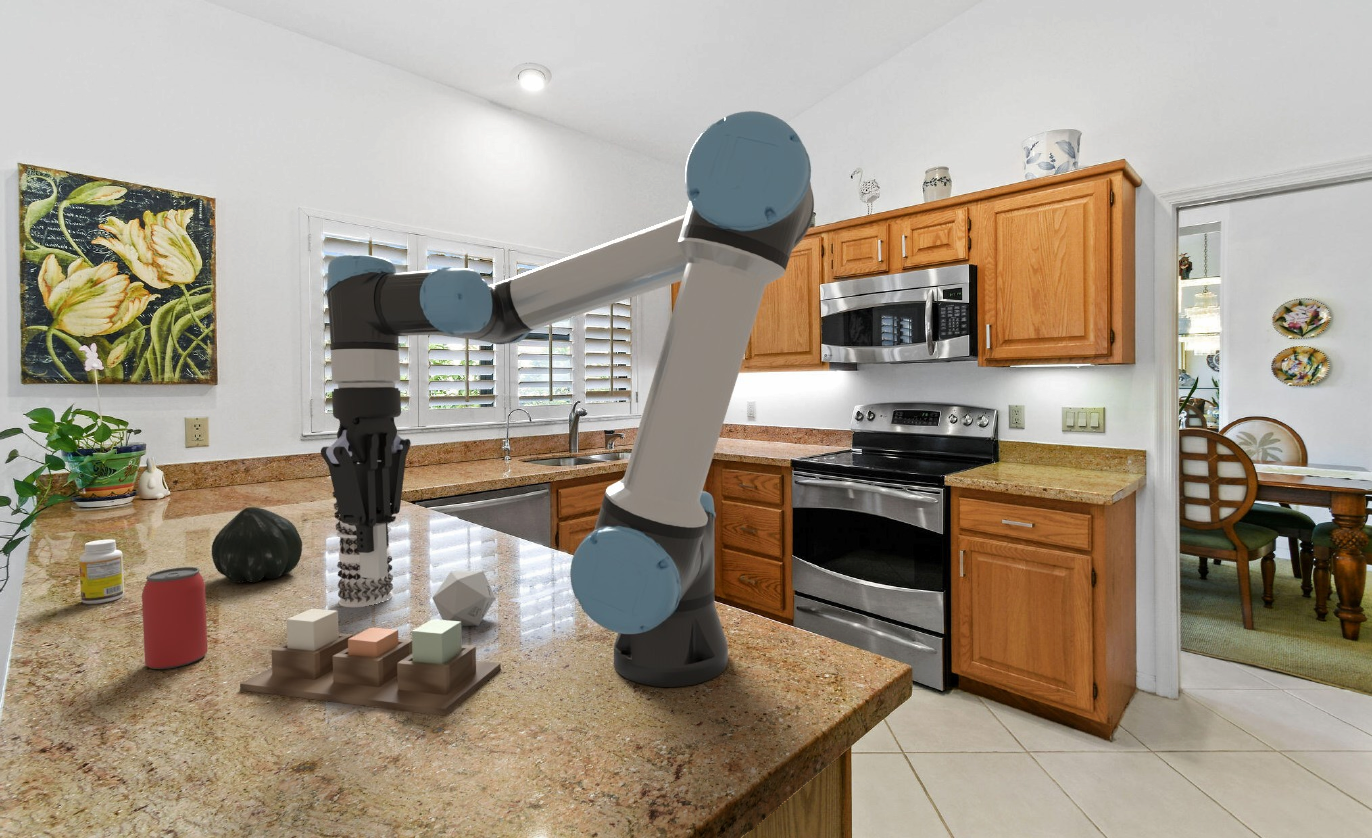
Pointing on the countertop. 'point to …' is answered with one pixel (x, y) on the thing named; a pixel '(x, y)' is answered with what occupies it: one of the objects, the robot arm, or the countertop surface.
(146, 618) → the beer can
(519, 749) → the countertop surface
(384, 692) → the button board
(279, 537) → the squash
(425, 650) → the sage button
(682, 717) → the countertop surface
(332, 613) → the ivory button
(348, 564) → the decorative candle
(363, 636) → the terracotta button
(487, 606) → the die
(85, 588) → the supplement bottle
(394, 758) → the countertop surface
